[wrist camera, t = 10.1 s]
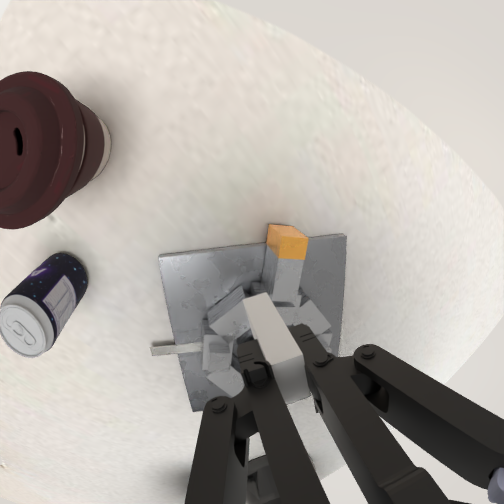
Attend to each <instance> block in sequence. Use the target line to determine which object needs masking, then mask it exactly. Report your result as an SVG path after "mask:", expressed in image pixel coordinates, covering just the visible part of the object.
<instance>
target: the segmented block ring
mask: <svg viewBox="0 0 504 504" xmlns="http://www.w3.org/2000/svg"><path fill="white" fill-rule="evenodd" d="M308 239H309V238H308V237H306V236H305V235H304V234H302V233H301V232H300V231H298V230H297V229H296V228H294V227H293V226H284V225H272V224H269V228H268V235H267V242H266V244H267V246H266V253H265V260H264V267H263V274H262V281H261V282H251V285H250V293H249V294H248V292H247V291H246V290H245V289H244V288H243V287H242V286H241V285H240V286H239V287H238V288H237V289H235V290H234V291H233V292H232V293H230V294H229V295H228V296H227V297H225V298H224V299H223V300H221V301H220V302H219V303H218V304H216V305H215V306H214V307H213V308H211V309H210V310H209V311H207V313H208V320H203V325H202V342H201V361H202V370H205V373H206V378H208V379H209V380H210V381H212V382H213V383H214V384H216V385H217V386H218V387H220V388H221V389H222V390H224V391H225V392H226V393H228V394H229V395H230V396H232V397H234V396H235V395H237V394H239V393H240V392H241V391H242V390H243V388H244V385H245V384H244V381H243V379H242V376H241V366H240V363H239V360H238V359H237V358H236V357H235V356H234V355H233V354H232V350H233V342H234V340H235V339H237V338H238V337H239V336H241V335H242V334H243V333H245V332H246V331H247V330H249V329H250V328H251V327H250V324H249V320H248V317H247V314H246V310H245V307H244V303H243V299H246V298H249V297H252V296H256V295H259V294H262V293H265V292H267V294H268V296H269V298H270V299H271V301H272V303H273V304H274V306H275V308H276V309H277V311H278V313H279V315H280V316H281V318H282V320H283V321H284V323H285V325H292V324H293V325H294V326H296V325H298V324H301V323H303V324H305V325H307V326H309V327H310V329H311V330H312V331H313V333H314V334H315V336H316V337H317V338H318V340H319V341H320V343H321V344H322V345H323V347H324V348H325V350H326V351H327V352H329V353H331V351H332V349H331V348H330V347H329V345H330V341H331V338H332V332H331V331H330V330H329V328H330V327H331V325H330V324H329V322H328V321H327V320H326V318H325V317H324V316H323V315H322V313H321V312H320V311H319V310H318V308H317V307H316V306H315V304H314V303H313V302H312V301H311V299H310V298H309V297H308V296H307V294H306V293H305V292H304V291H303V289H302V288H301V287H300V288H299V284H300V278H301V273H302V268H303V263H304V260H305V256H306V250H307V245H308Z"/></svg>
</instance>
